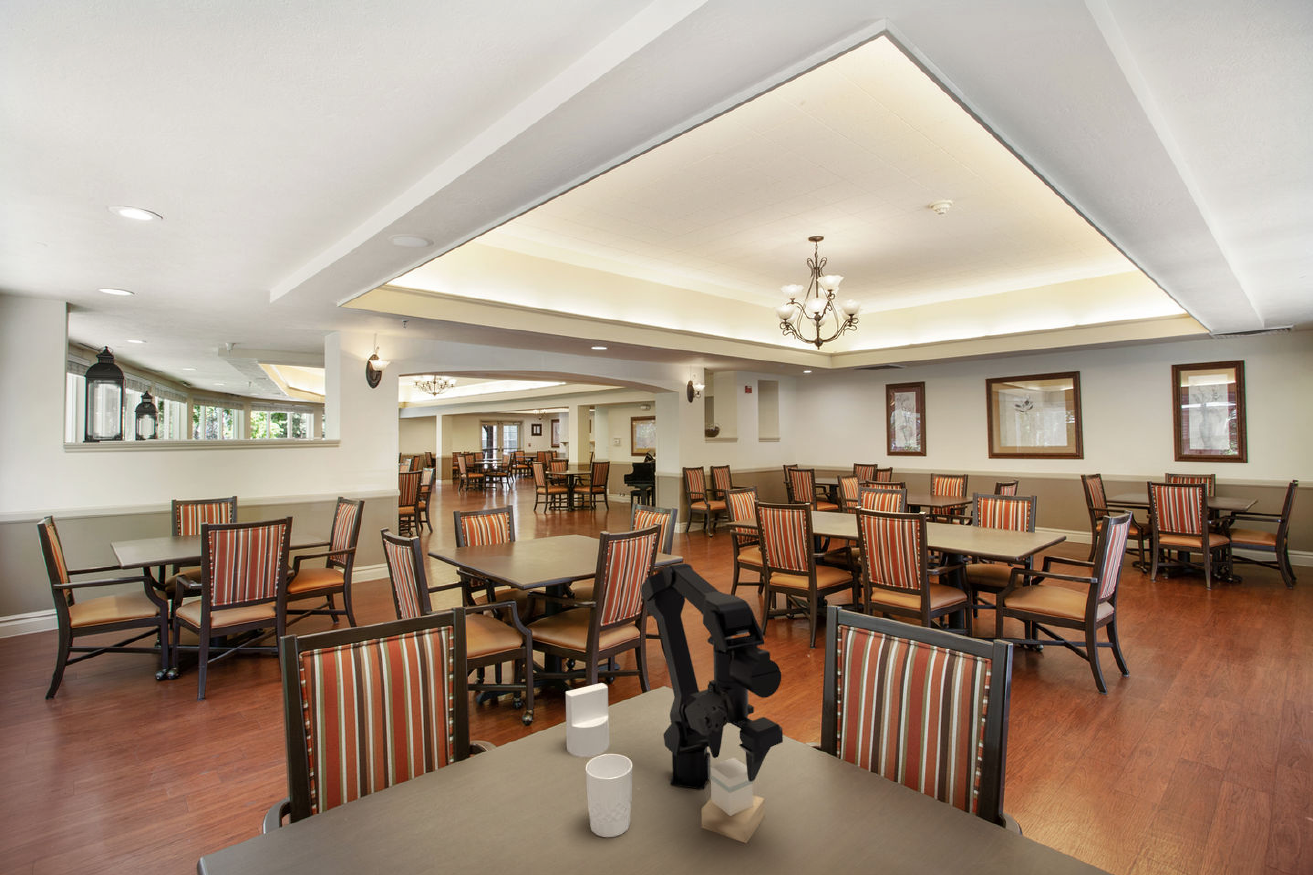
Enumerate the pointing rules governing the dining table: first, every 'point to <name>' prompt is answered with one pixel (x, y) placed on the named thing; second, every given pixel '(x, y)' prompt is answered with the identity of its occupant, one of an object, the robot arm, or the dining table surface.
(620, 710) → the dining table surface
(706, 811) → the oak block
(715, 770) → the white banded box
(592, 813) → the white cup
